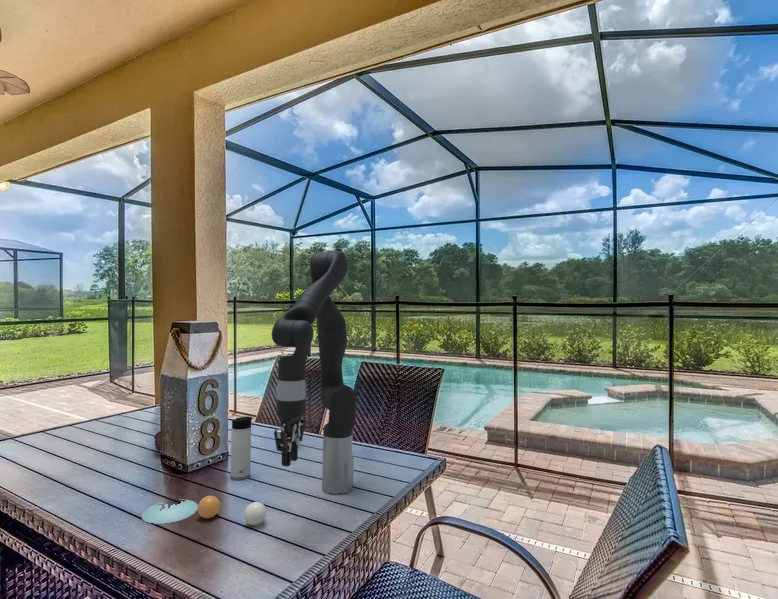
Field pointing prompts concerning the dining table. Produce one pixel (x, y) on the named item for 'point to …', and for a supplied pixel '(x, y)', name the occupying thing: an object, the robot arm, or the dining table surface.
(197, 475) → the dining table surface
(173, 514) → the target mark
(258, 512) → the cue ball
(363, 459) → the dining table surface
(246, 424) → the travel mug
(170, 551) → the dining table surface
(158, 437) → the pine cone
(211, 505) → the object ball
